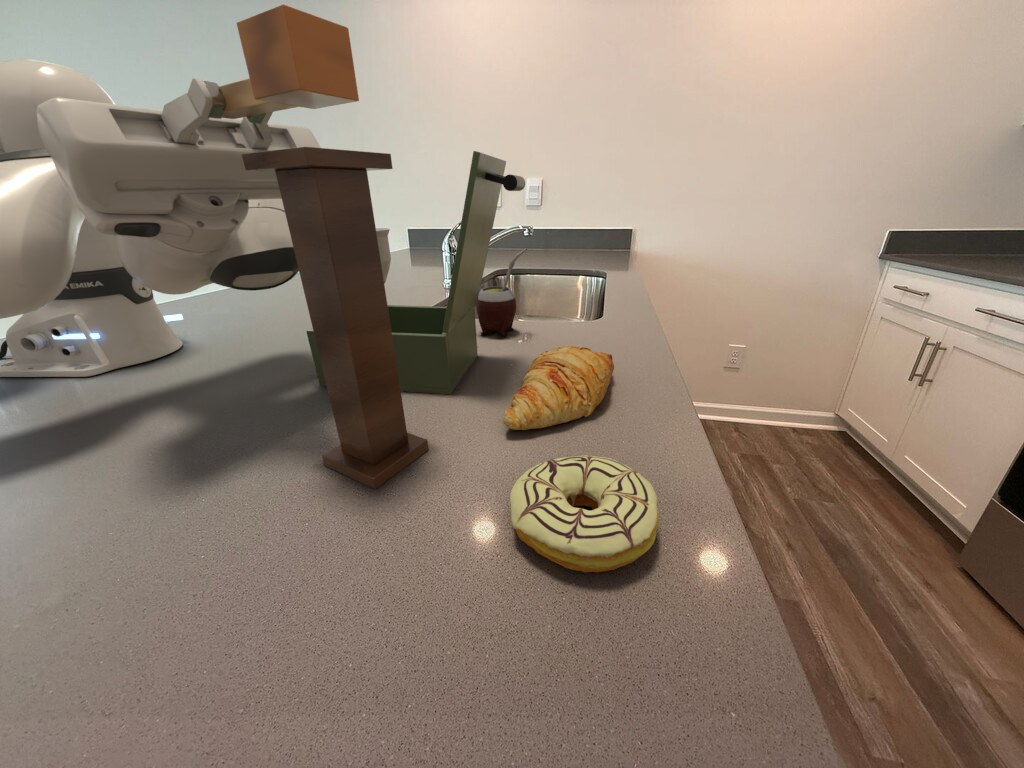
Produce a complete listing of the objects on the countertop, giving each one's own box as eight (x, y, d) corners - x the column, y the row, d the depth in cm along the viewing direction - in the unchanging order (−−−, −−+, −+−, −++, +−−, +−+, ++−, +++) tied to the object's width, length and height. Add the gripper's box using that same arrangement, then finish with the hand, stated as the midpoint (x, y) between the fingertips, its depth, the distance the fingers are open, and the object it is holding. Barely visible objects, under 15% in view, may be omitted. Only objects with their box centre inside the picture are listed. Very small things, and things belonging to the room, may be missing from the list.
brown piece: (188, 113, 31) (168, 48, 30) (248, 121, 35) (233, 62, 33) (300, 89, 25) (283, 3, 23) (359, 101, 28) (348, 27, 26)
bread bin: (319, 386, 55) (305, 331, 52) (368, 350, 67) (360, 304, 64) (450, 394, 52) (445, 336, 49) (477, 356, 64) (474, 307, 61)
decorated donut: (532, 471, 37) (533, 436, 36) (655, 494, 34) (661, 457, 33) (491, 559, 28) (489, 518, 27) (652, 602, 25) (661, 558, 24)
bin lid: (473, 150, 40) (515, 161, 39) (501, 159, 52) (533, 168, 51) (442, 332, 48) (476, 342, 48) (472, 304, 61) (499, 312, 60)
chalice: (398, 338, 72) (382, 231, 65) (360, 339, 73) (340, 232, 65) (408, 326, 79) (394, 227, 71) (373, 326, 79) (356, 228, 72)
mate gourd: (473, 330, 76) (467, 246, 69) (511, 324, 79) (509, 243, 72) (487, 342, 70) (482, 251, 63) (528, 335, 72) (528, 247, 66)
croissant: (529, 475, 42) (561, 429, 37) (465, 410, 45) (486, 359, 40) (621, 396, 57) (653, 355, 51) (567, 352, 60) (592, 308, 54)
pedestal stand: (324, 465, 39) (241, 153, 28) (380, 431, 44) (329, 159, 33) (375, 489, 35) (304, 146, 24) (429, 449, 41) (390, 153, 30)
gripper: (305, 219, 48) (364, 144, 39) (72, 235, 32) (85, 116, 24) (277, 168, 47) (332, 79, 38) (23, 159, 31) (19, 6, 23)
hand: (236, 93), depth 31 cm, fingers closed on brown piece, 2 cm apart
